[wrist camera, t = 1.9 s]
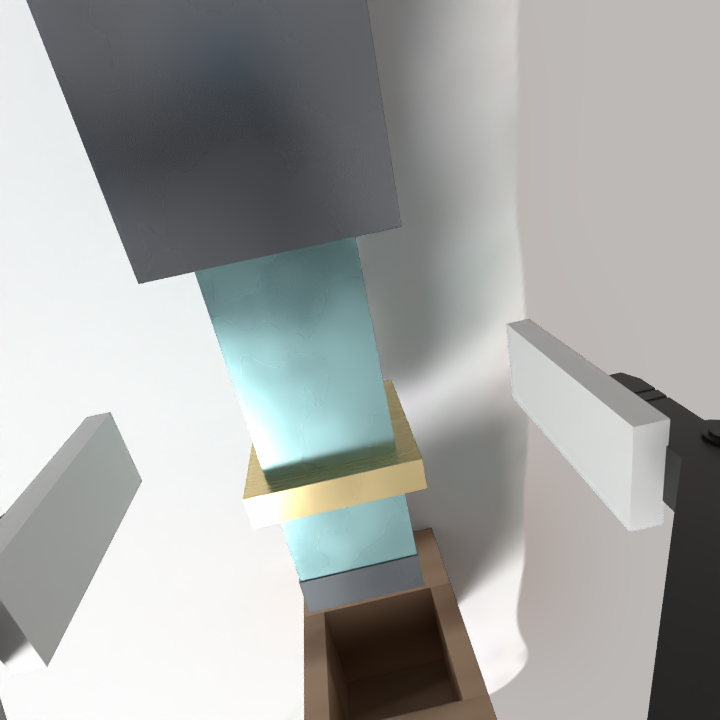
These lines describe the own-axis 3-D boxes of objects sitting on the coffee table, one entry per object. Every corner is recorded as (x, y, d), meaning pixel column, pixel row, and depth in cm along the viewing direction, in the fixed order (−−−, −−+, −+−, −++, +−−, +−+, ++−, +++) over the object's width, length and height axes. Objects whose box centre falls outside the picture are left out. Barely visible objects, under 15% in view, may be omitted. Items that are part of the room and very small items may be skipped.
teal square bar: (4, -368, 12) (-248, -807, 6) (243, -411, 12) (195, -880, 6) (294, 521, 23) (292, 632, 18) (412, 494, 23) (445, 596, 18)
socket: (303, 557, 29) (304, 783, 19) (431, 528, 30) (502, 735, 19) (331, 643, 33) (345, 876, 22) (446, 616, 33) (514, 834, 22)
